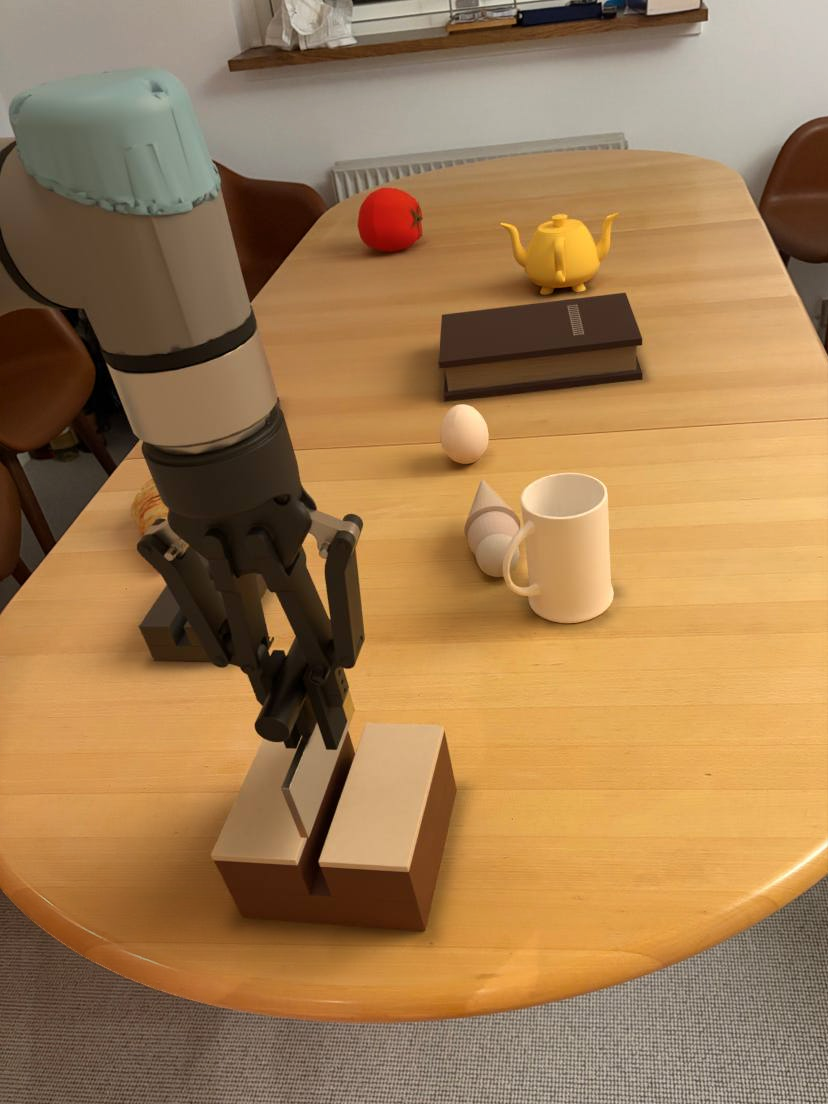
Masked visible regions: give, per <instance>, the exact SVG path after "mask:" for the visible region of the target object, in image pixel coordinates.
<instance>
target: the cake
mask: <svg viewBox="0 0 828 1104" xmlns="http://www.w3.org/2000/svg"><path fill="white" fill-rule="evenodd" d="M301 738H302V736H301ZM300 740H301V739H300ZM299 743H300V741H299ZM298 745H299V744H298ZM297 748H298V746H297ZM297 748H296V749H289V748H286V747H285V745H284V742H271V741H268V740H265V739H264V738H262V741H261V742H260V744H259V747H258V749H257V752H256V754H255V756H254V758H253V760H252V763H251V764H250V767H249V769H248V772H247V773H246V776H245V777H244V780H243V783H242V785H241V787H240V788H239V791H238V793H237V796H236V798H235V800H234V802H233V805H232V807H231V809H230V811H229V814H228V816H227V818H226V820H225V822H224V825H223V827H222V829H221V831H220V834H219V835H218V838H217V840H216V841H215V843H214V847H213V848H212V851H211V853H210V857H211V859H212V861H213V862H214V864H215V866H216V868H217V871H218V872H219V874H220V876H221V878H222V881H223V882H224V885H225V886H226V888H227V889H228V892H229V895H230V896H231V898H232V900H233V902H234V904H235V906H236V908H237V910H238V912H239V913H240V916H241V917H242V918H246V919H261V920H273V921H285V922H286V921H287V922H299V923H300V922H301V923H313V924H328V925H341V926H353V927H367V928H379V929H380V928H382V929H395V930H408V931H421V932H425V931H426V929H427V926H428V922H429V916H430V912H431V907H432V902H433V898H434V894H435V889H436V885H437V882H438V881H437V880H438V875H439V871H440V867H441V863H442V859H443V858H442V857H443V853H444V850H445V844H446V839H447V836H448V831H449V827H450V822H451V818H452V814H453V808H454V805H455V799H456V795H457V790H458V789H457V786H456V785H457V784H456V780H455V779H456V778H455V775H454V770H453V765H452V764H453V763H452V760H451V755H450V750H449V744H448V740H447V735H446V731H445V726H444V724H430V723H429V724H428V723H427V724H426V723H424V724H423V723H393V722H392V723H391V722H389V723H387V722H365V725H364V728H363V731H362V734H361V736H360V739H359V742H358V745H357V748H356V751H355V747H354V744H353V741H352V738H351V735H350V731H349V730H348V731H347V734H346V736H345V739H344V742H343V745H342V747H341V750H340V753H339V756H338V759H337V761H336V764H335V767H334V770H333V772H332V775H331V778H330V781H329V783H328V786H327V789H326V792H325V794H324V797H323V800H322V803H321V805H320V808H319V811H318V814H317V817H316V819H315V822H314V825H313V828H312V830H311V833H310V836H309V838H301V837H300V835H299V832H298V830H297V827H296V825H295V822H294V820H293V817H292V815H291V813H290V810H289V808H288V805H287V803H286V800H285V798H284V795H283V793H282V790H281V787H282V784H283V782H284V779H285V777H286V774H287V772H288V770H289V767H290V765H291V762H292V760H293V757H294V755H295V752H296V750H297Z"/></svg>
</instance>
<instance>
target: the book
mask: <svg viewBox="0 0 828 1104" xmlns="http://www.w3.org/2000/svg"><path fill="white" fill-rule="evenodd" d="M440 321H441V322H440V323H441V324H440V337H439V349H438V368H439V370H442V369H444V383H443V401H444V402H455V401H464V400H472V399H480V398H490V397H491V398H492V397H498V396H500V397H501V396H508V395H516V394H517V395H518V394H524V393H532V392H533V393H535V392H542V391H551V390H561V389H568V388H569V389H570V388H578V387H587V386H595V385H603V384H604V385H605V384H612V383H613V384H614V383H622V382H630V381H639V380H640V381H641V380H643V371H642V367H641V364H640V361H639V358H638V355H637V347H638V346H643V337H642V333H641V331H640V328H639V325H638V322H637V320H636V317H635V314H634V311H633V308H632V306H631V303H630V300H629V297H628V295H627V293H626V292H619V293H617V292H616V293H610V294H602V295H594V296H585V297H577V298H568V299H559V300H552V301H543V302H536V303H528V304H519V305H511V306H503V307H493V308H486V309H485V308H484V309H477V310H470V311H461V312H452V313H445V314H441V320H440Z"/></svg>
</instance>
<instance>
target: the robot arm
mask: <svg viewBox="0 0 828 1104" xmlns="http://www.w3.org/2000/svg"><path fill="white" fill-rule="evenodd" d="M8 119H9V123H10V127H11V130H12V132H13V135H14V136H12V137H11V136H10V137H8V136H7V137H0V317H2V316H4V315H6V314H8V313H10V312H14V311H19V310H24V309H25V310H26V309H38V310H40V309H42V310H44V309H45V310H61V311H66V310H69V311H70V310H71V311H79V310H84V313H85V314H86V317H87V319H88V321H89V323H90V326H91V328H92V329H93V332H94V334H95V336H96V338H97V343H98V347H99V349H100V352H101V354H102V357H103V360H104V361H105V364H106V366H107V369H108V371H109V374H110V377H111V379H112V381H113V384H114V386H115V389H116V392H117V394H118V397H119V399H120V402H121V404H122V407H123V410H124V412H125V415H126V417H127V421H128V422H129V425H130V428H131V430H132V433H133V434H134V435H135V437H137V438H138V439H139V440H140V441H142V444H141V452H142V455H143V458H144V460H145V464H146V466H147V468H148V471H149V473H150V476H151V479H153V481H154V483H155V486H156V488H157V490H158V493H159V495H160V498H161V500H162V502H163V503H164V505H165V506H166V507H167V508H168V509H169V510H168V515H167V520H166V519H163V518H159V519H156V520H155V522H154V523H153V524H152V525H151V527H150V528H149V529H148V531H147V532H146V533H145V535H144V536H143V535H142V537H141V538H140V540H139V541H138V542H137V544H136V550H137V552H138V554H139V555H140V557H142V558H143V559H144V560H145V561H146V563H148V564H149V565H150V566H151V567H152V568H154V569H155V570H156V572H158V574H159V575H160V576H161V577H162V579H163V580H164V582H165V585H167V586H168V588H169V589H170V591H171V593H172V595H173V596H174V598H175V600H176V602H177V603H178V605H179V607H180V608H181V610H182V612H183V614H184V615H185V617H186V619H187V621H188V622H189V624H190V626H191V628H192V629H193V631H194V633H195V634H196V636H197V638H198V640H199V641H200V643H201V645H202V647H203V648H204V650H205V652H206V654H207V655H208V657H209V659H210V660H211V661H210V662H211V664H212V665H214V666H215V667H217V668H221V669H222V668H223V669H224V668H227V667H228V666H229V665H232V666H235V667H239V669H240V671H241V672H242V673H244V674H245V675H247V679H248V680H249V683H250V685H251V689H252V690H253V694H254V696H255V699H256V701H257V703H259V704H260V706H261V707H263V705H264V702H265V700H266V698H267V696H268V694H269V692H270V690H271V688H272V685H273V683H274V681H275V679H276V677H277V675H278V673H279V671H280V668H281V666H282V664H283V662H284V660H285V658H286V656H287V654H286V652H285V649H273V650H272V651H271V653H270V652H269V651H270V648H272V645H273V643H274V641H275V636H272V637H271V636H269V632H268V626H267V622H266V618H265V613H264V610H263V604H262V598H261V599H260V594H259V590H258V585H257V581H256V576H255V573H256V574H261V575H262V577H263V579H264V581H265V583H266V585H267V590H268V591H269V592H270V593H271V594H272V593H275V595H276V598H277V600H278V602H279V603H280V606H281V608H282V611H283V612H284V614H285V616H286V618H287V621H288V622H289V625H290V627H291V630H292V633H294V636H295V637H296V638H297V640H298V642H299V644H300V647H301V649H302V651H303V653H304V655H305V657H306V659H307V661H308V664H309V665H308V667H307V669H306V672H305V674H304V676H303V682H304V685H305V687H306V689H307V694H308V697H309V700H310V703H311V706H312V709H313V712H314V715H315V718H316V720H317V723H318V726H319V729H320V732H321V735H322V738H323V741H324V744H325V747H326V750H337V749H338V746H339V743H340V740H341V738H342V735H343V732H344V729H345V727H346V724H347V718H346V715H345V711H344V708H343V704H344V701H345V698H346V696H347V693H348V689H349V690H350V685H349V682H348V679H347V676H346V675H347V674H346V672H345V670H350V669H353V668H354V667H355V666H356V663H357V661H358V658H359V655H360V653H361V651H362V647H363V645H364V642H365V639H366V634H365V625H364V615H363V609H362V608H363V607H362V606H363V605H362V596H361V588H360V587H361V586H360V577H359V569H358V568H359V567H358V560H357V559H358V557H357V545H358V543H359V540H360V537H361V534H362V530H363V528H364V522H363V519H362V518H361V517H360V516H359V515H357V514H355V513H347V514H345V515H344V517H343V518H342V519H340V518H338V517H335V516H333V515H331V514H330V515H329V514H328V513H325V512H322V511H319V510H318V507H317V504H316V502H315V500H314V499H313V497H312V496H311V495H310V494H309V493H308V492H307V491H306V489H305V488H304V486H303V484H302V482H301V476H300V470H299V465H298V461H297V459H298V458H297V457H296V453H295V449H294V446H293V442H292V439H291V435H290V432H289V428H288V425H287V420H286V418H285V414H284V412H283V410H282V409H281V407H278V406H277V405H275V404H276V402H277V397H278V391H277V387H276V383H275V380H274V377H273V373H272V370H271V367H270V363H269V360H268V356H267V353H266V349H265V345H264V342H263V339H262V336H261V332H260V329H259V326H258V321H257V318H256V315H255V312H254V307H253V305H252V304H251V302H250V298H249V296H248V291H247V288H246V283H245V280H244V277H243V273H242V267H241V265H240V261H239V255H238V251H237V248H236V244H235V241H234V236H233V232H232V228H231V224H230V223H231V222H230V221H229V216H228V212H227V207H226V204H225V200H224V195H223V191H222V187H221V184H222V180H221V176H220V173H219V169H218V167H217V165H216V163H214V162H213V159H212V156H211V153H210V150H209V148H208V144H207V142H206V139H205V136H204V134H203V130H202V128H201V125H200V122H199V120H198V116H197V113H196V110H195V108H194V105H193V102H192V99H191V96H190V94H189V92H188V90H187V88H186V87H185V85H184V84H183V83H182V82H181V80H180V79H179V78H178V77H176V76H175V75H174V74H173V73H172V72H169V71H167V70H165V69H162V68H159V67H154V66H135V67H124V68H117V69H113V70H111V71H102V72H90V73H85V74H79V75H74V76H70V77H65V78H61V79H57V80H52V81H49V82H46V83H42V84H39V85H35V86H33V87H30V88H28V89H25V90H23V91H21V92H19V93H18V94H15V96H14V97H13V98H12V99H11V101H10V103H9V106H8ZM308 534H310V535H312V536H313V537H314V538H315V540H316V548H317V549H318V556H319V557H320V558H322V559H324V560H325V563H324V581H325V588H326V595H327V604H328V610H329V615H328V614H327V613H328V612H327V610H326V609H325V606H324V604H323V602H322V599H321V596H320V594H319V592H318V590H317V587H316V585H315V583H314V581H313V578H312V575H311V574H310V571H309V569H308V567H307V554H306V551H305V549H304V547H303V544H304V542H305V540H306V538H307V536H308ZM195 550H196V551H197V552H198V553H199V554H201V555H202V556H203V557H204V558H205V559H207V560H208V562H209V566H210V570H211V574H212V578H213V582H214V584H213V582H212V580H211V578H210V576H209V574H208V572H207V571H206V569H205V567H204V565H203V563H202V561H201V559H200V558H199V556H198V554H197V552H196V551H195ZM214 585H215V586H214ZM218 591H220V592H221V595H222V599H223V600H222V599H221V597H220V595H219V593H218ZM329 619H330V620H331V622H330V620H329ZM300 739H301V735H300V733H299V730H298V727H297V724H296V722H295V724H294V726H293V729H292V731H291V733H290V736H289V738H288V739H287V740H285V741H283V742H284V745H285V747H286V748H289V749H296V748H297V746H298V744H299V741H300Z"/></svg>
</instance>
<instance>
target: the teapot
mask: <svg viewBox="0 0 828 1104" xmlns="http://www.w3.org/2000/svg"><path fill="white" fill-rule="evenodd" d="M620 213H621V212H620V211H618V212H615V213H611V214H609V215H607V216H606V217H605V218H604V220H603V222H602V228H601V229H602V230H601V232H602V233H601V237H600V239H599V241H598V242H596V241H595V239H594V237H593V235H592V234H591V232H590V230H589V229H588V228H587V226H586V225H585V224H584V223H583V222H582V221H581V220H578V219H573V218H568V214H565V213H557V214H554V215H552V216H551V220H549V221H546V222H544V223H541V224H540V225H538V227H537V228H536V230H535V232H534V233H533V235H532V237H531V239H530V242H529V245H528V247H527V249H526V248H525V247H524V246H523V245H522V244H521V240H520V234H519V231H518V229H517V228H516V226H514V225H513V224H510V223H505V222H500V225H501V226H502V227H504V228H505V229H506V230H507V232H508V233H509V236H510V240H511V245H512V246H511V247H512V254H513V257H514V259H515V261H516V263H518V265H519V266H521V267H522V268H524V273H525V275H526V276H527V277H528V278H529V280H530V281H531V282H533V283H534V284H535V285H537V286H539V287H541V289H540V292H539V294H541V295H551V294H553V293H554V291H555V290H554V289H559V288H561V289H562V288H568V287H569V288H570V287H571V290H572V292H575V293H580V292H584V291H586V290H587V287H586V286H585V284H584V283H586V282H588V281H589V280H592V278H593V277H594V275H595V274H596V273H597V271H598V270H599V268H600V266H601V262H602V261H603V260H604V259H605V258H606V256H607V255H608V254H609V251H610V247H611V230H612V225H613V223H614V220H615V219H616V217H618V215H620Z"/></svg>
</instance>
